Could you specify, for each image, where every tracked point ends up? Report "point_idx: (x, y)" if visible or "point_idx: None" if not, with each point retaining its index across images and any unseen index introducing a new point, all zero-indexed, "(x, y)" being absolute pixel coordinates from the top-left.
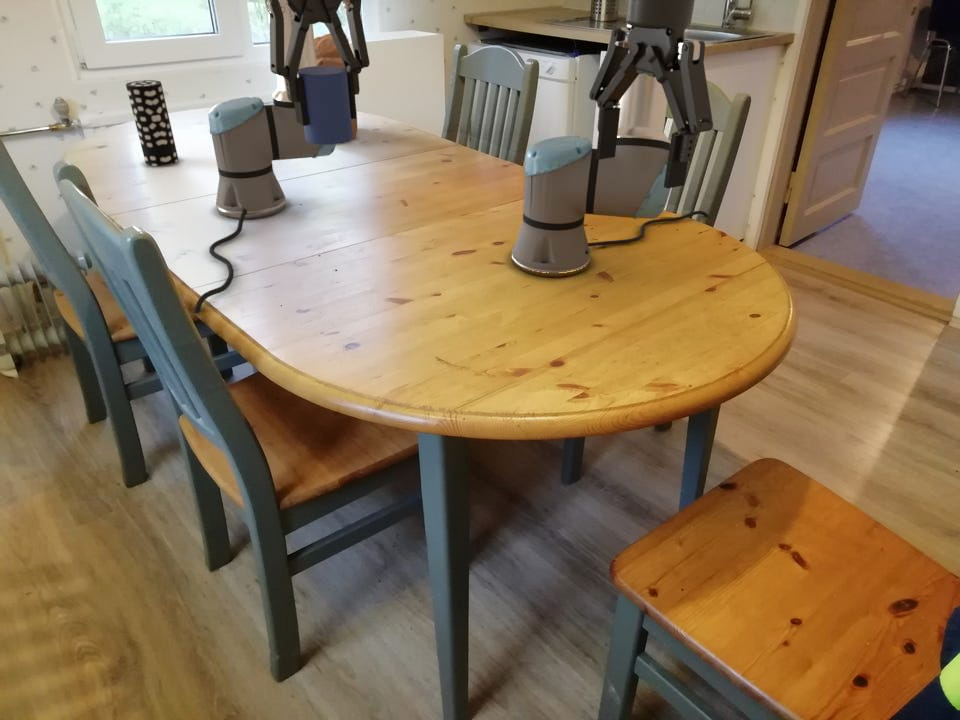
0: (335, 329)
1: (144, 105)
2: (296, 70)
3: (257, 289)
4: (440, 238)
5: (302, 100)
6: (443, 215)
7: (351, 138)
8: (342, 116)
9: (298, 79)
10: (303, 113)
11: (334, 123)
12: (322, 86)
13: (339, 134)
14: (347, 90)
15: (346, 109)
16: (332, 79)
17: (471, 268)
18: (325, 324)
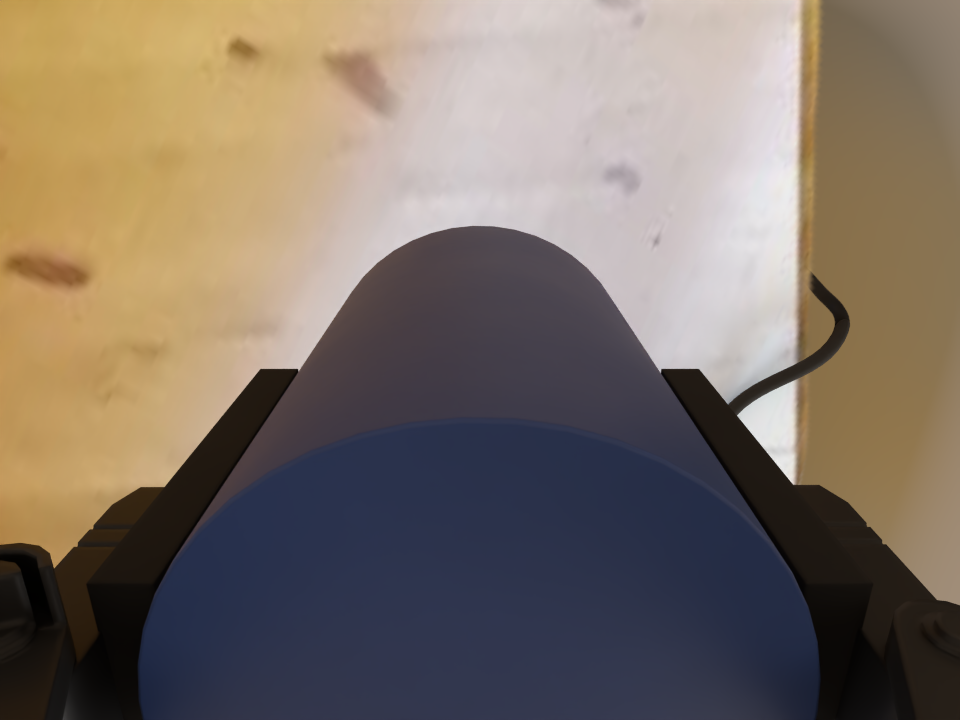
0: (597, 18)
1: None
2: (936, 683)
3: (666, 363)
4: (80, 397)
5: (746, 458)
6: (11, 533)
7: (364, 277)
8: (417, 274)
9: (851, 599)
10: (715, 404)
11: (501, 253)
12: (617, 381)
13: (468, 235)
14: (274, 413)
15: (356, 312)
16: (478, 391)
17: (69, 156)
18: (607, 65)
